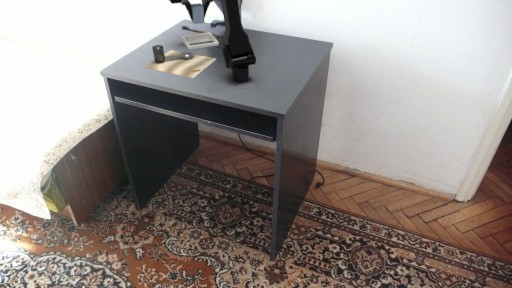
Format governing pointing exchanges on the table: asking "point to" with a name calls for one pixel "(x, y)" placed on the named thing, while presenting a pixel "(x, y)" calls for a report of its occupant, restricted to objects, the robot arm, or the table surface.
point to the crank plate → (182, 65)
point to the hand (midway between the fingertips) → (197, 19)
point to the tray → (199, 40)
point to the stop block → (197, 13)
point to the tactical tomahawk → (200, 31)
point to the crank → (161, 58)
